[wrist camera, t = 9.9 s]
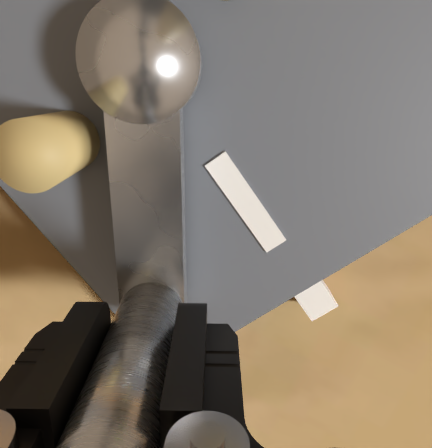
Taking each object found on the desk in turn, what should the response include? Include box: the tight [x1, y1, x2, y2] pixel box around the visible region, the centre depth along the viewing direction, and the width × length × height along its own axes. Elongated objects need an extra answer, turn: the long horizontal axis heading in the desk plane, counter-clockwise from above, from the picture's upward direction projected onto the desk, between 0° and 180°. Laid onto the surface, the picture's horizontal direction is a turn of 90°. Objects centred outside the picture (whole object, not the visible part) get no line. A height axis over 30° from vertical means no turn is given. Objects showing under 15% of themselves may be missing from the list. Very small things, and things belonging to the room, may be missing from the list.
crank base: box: [0, 0, 432, 332], centre depth 10 cm, size 13×13×4 cm
